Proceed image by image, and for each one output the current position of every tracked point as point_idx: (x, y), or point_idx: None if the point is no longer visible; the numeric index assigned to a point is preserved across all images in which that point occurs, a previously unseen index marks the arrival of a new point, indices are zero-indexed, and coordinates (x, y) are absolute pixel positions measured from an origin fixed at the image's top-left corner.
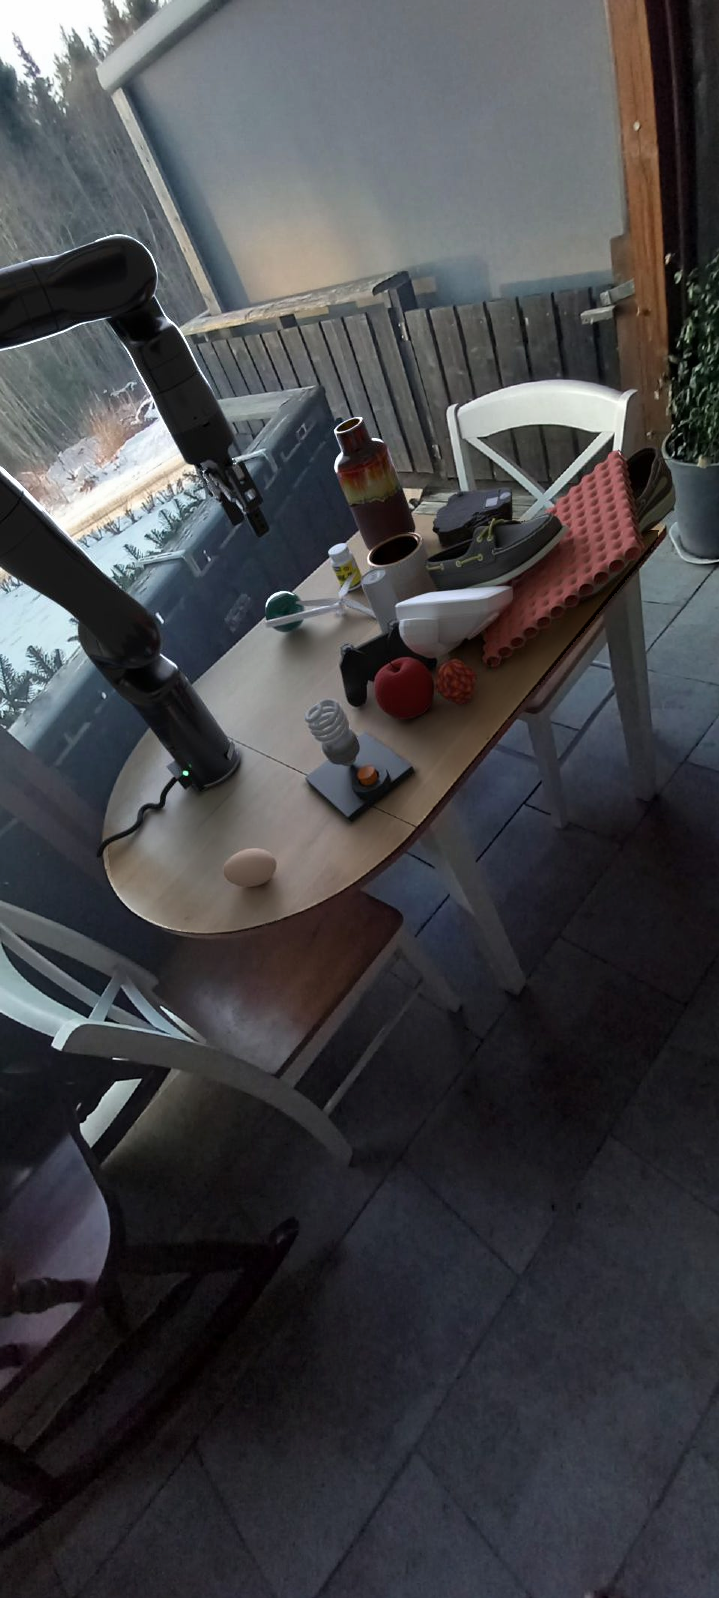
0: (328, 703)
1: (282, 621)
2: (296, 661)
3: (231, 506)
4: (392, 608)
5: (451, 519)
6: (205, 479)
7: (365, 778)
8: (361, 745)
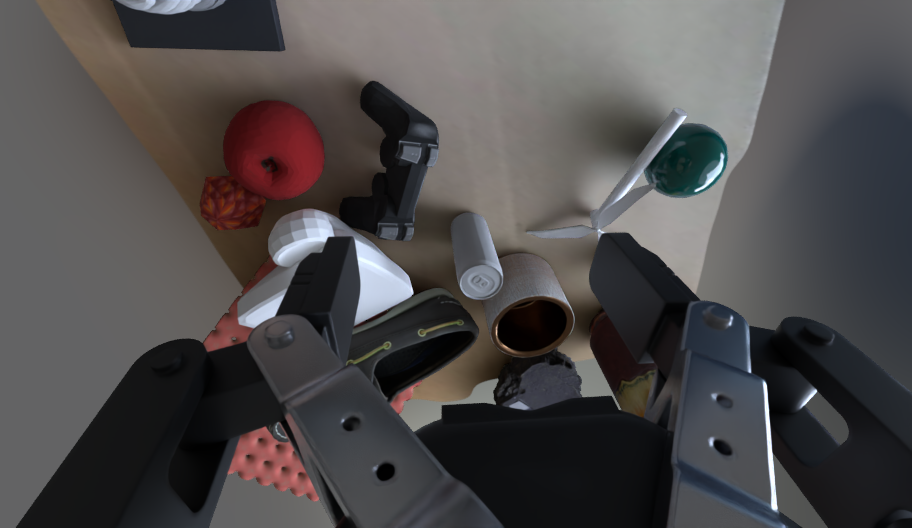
0: None
1: (654, 139)
2: (589, 98)
3: (630, 309)
4: (453, 252)
5: (546, 378)
6: (878, 437)
7: None
8: (248, 22)
